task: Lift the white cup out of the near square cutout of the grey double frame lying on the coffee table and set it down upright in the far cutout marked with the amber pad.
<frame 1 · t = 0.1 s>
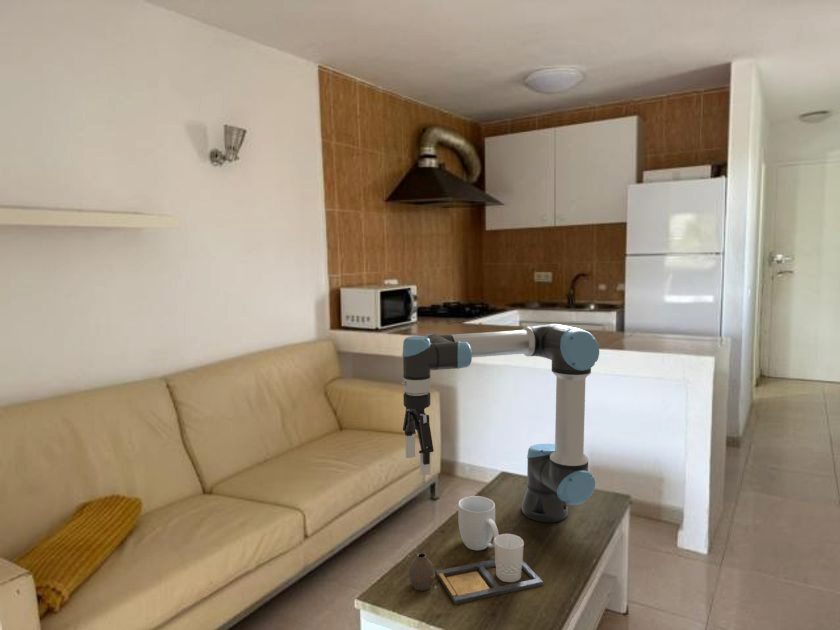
hand: (417, 465, 161), 28 cm above the table, fingers open, 13 cm apart
white cup: (508, 576, 156), resting in grey double frame
vase: (421, 587, 151), on the table
grey double frame: (488, 579, 154), on the table
mug: (478, 547, 171), on the table
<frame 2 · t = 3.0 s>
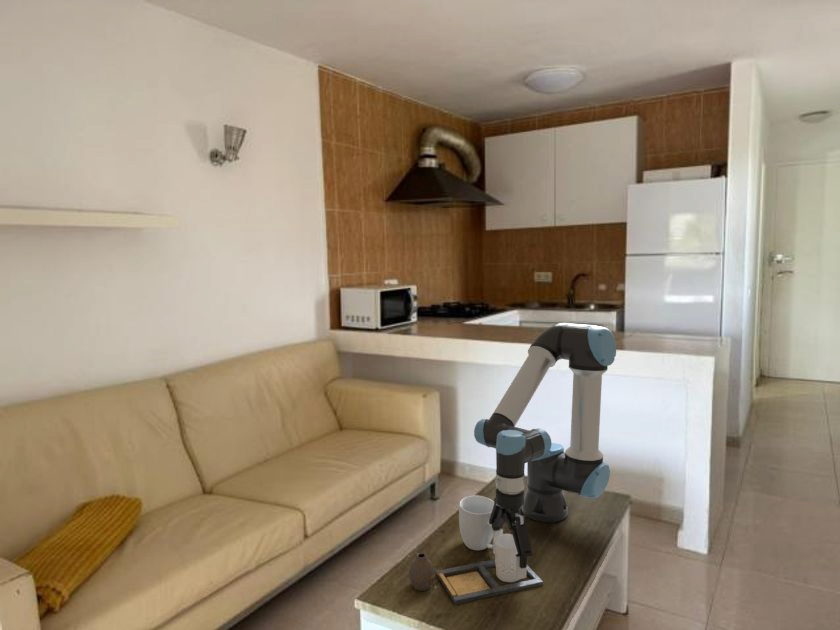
hand: (508, 564, 154), 4 cm above the table, fingers open, 13 cm apart
mug: (478, 546, 171), on the table, touching gripper
everything else where it was.
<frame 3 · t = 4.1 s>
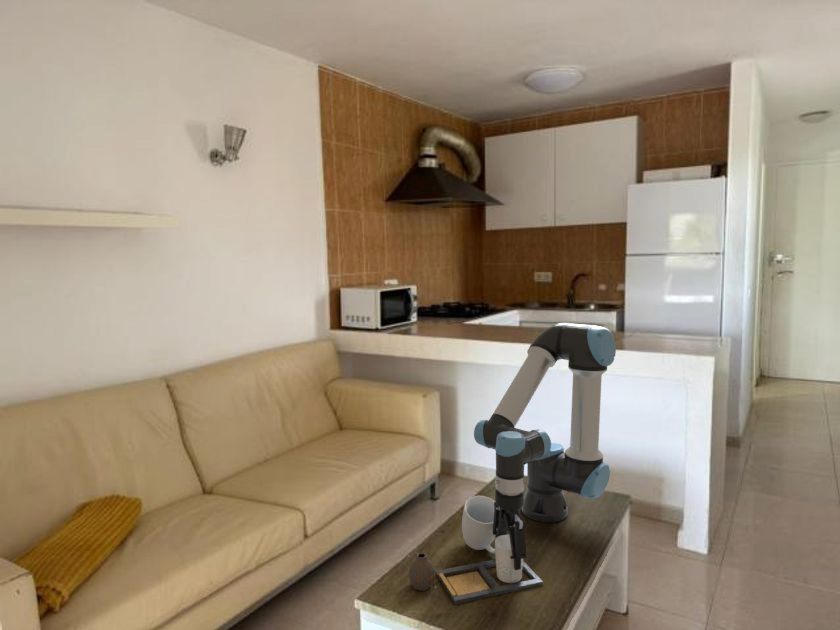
hand: (508, 570, 155), 2 cm above the table, fingers closed on white cup, 8 cm apart
white cup: (509, 577, 155), resting in grey double frame, touching gripper
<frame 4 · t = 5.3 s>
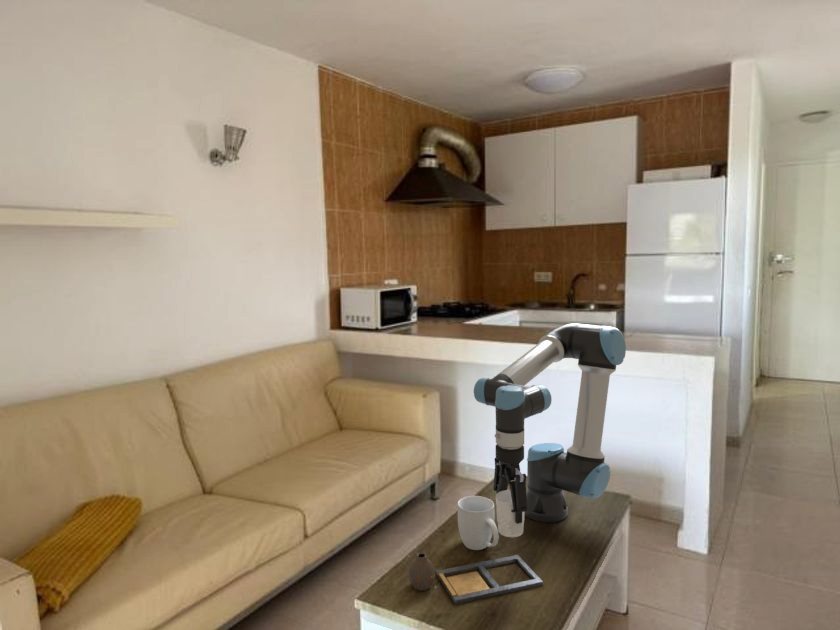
hand: (509, 525, 154), 14 cm above the table, fingers closed on white cup, 8 cm apart
white cup: (510, 531, 155), point 12 cm above the table, touching gripper
mug: (478, 546, 171), on the table
everything else where it was.
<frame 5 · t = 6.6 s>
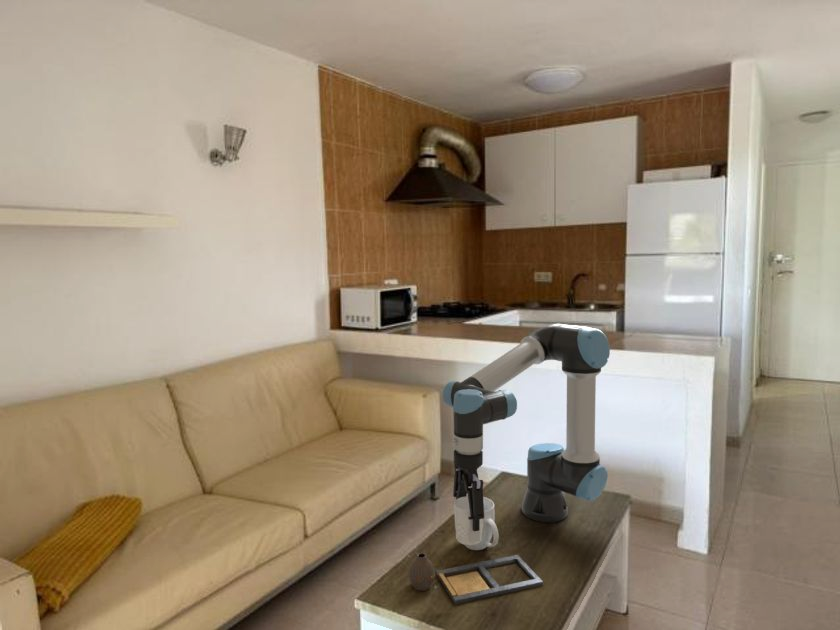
hand: (468, 533, 150), 14 cm above the table, fingers closed on white cup, 8 cm apart
white cup: (469, 539, 151), point 12 cm above the table, touching gripper
everything else where it was.
when the fingers open (3 cm above the table, at t = 9.3 s): white cup drops 1 cm, resting on grey double frame.
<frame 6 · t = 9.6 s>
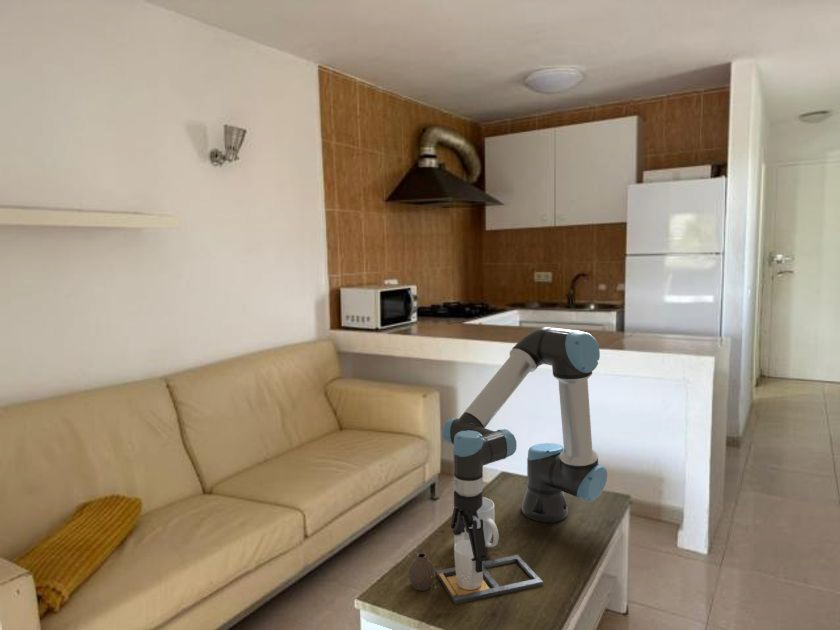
hand: (468, 569, 151), 4 cm above the table, fingers open, 11 cm apart
white cup: (469, 583, 152), resting on grey double frame
everything else where it was.
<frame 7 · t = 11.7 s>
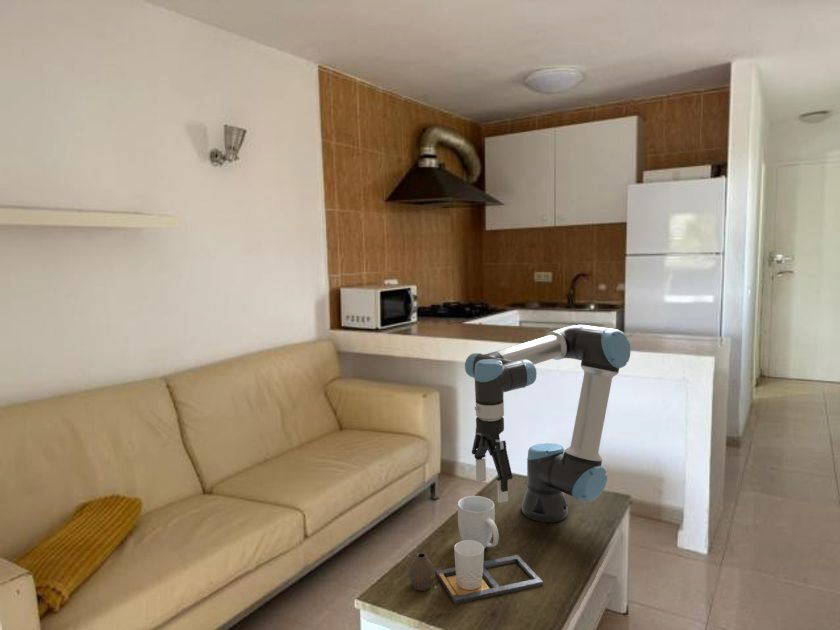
hand: (491, 490, 157), 22 cm above the table, fingers open, 13 cm apart
nothing on the table moved.
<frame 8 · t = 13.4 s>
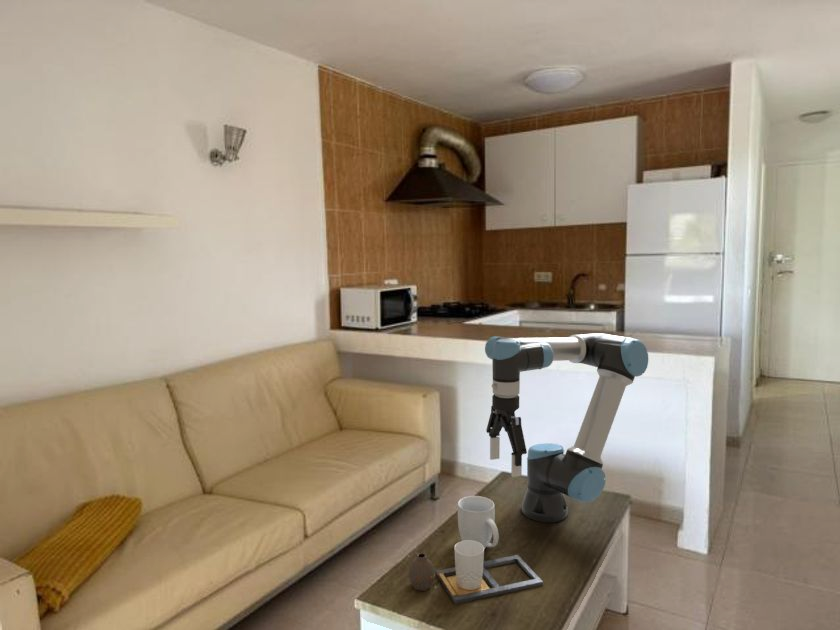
hand: (505, 467, 162), 27 cm above the table, fingers open, 13 cm apart
nothing on the table moved.
at the end: white cup 0.3 cm from the target spot on the grey double frame, point 0.0 cm above the grey double frame's base; white cup tilted 0°; the gripper is holding nothing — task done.
